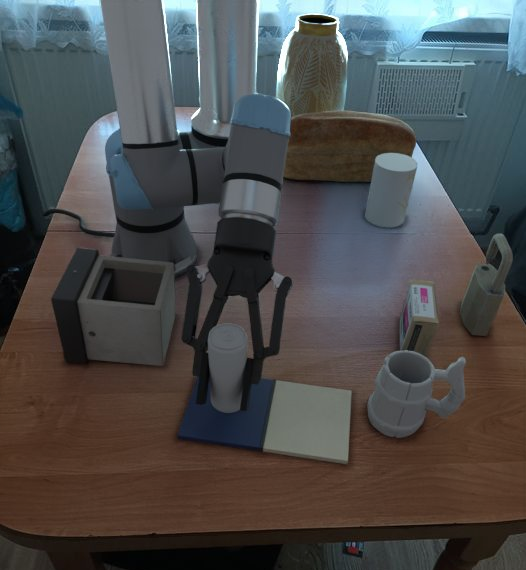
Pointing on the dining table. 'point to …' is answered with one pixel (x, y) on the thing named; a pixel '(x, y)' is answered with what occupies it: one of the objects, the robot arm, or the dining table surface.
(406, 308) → the ink box
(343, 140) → the bread
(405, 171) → the white cylinder
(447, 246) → the dining table surface
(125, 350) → the grey open box
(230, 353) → the beverage can
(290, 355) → the dining table surface
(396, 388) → the mug
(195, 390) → the board
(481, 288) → the padlock
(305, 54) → the vase
